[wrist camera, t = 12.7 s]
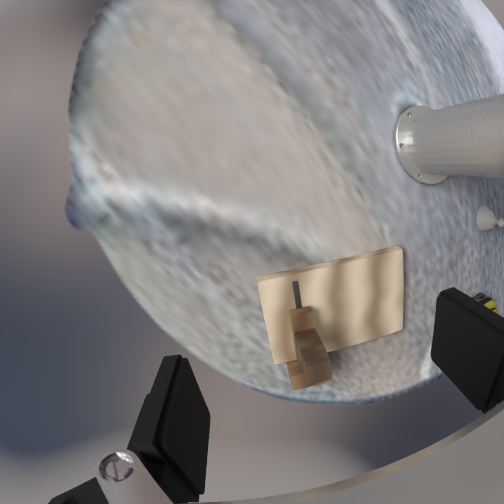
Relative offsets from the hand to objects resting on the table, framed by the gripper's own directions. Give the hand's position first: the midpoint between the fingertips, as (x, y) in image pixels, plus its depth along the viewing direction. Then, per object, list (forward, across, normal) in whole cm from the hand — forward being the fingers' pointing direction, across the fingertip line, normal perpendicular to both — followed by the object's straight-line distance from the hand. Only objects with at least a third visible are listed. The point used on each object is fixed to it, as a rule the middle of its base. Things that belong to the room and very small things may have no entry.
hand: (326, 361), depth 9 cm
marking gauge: (+30, -3, +18) cm, 35 cm away
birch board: (+30, -9, +14) cm, 35 cm away
